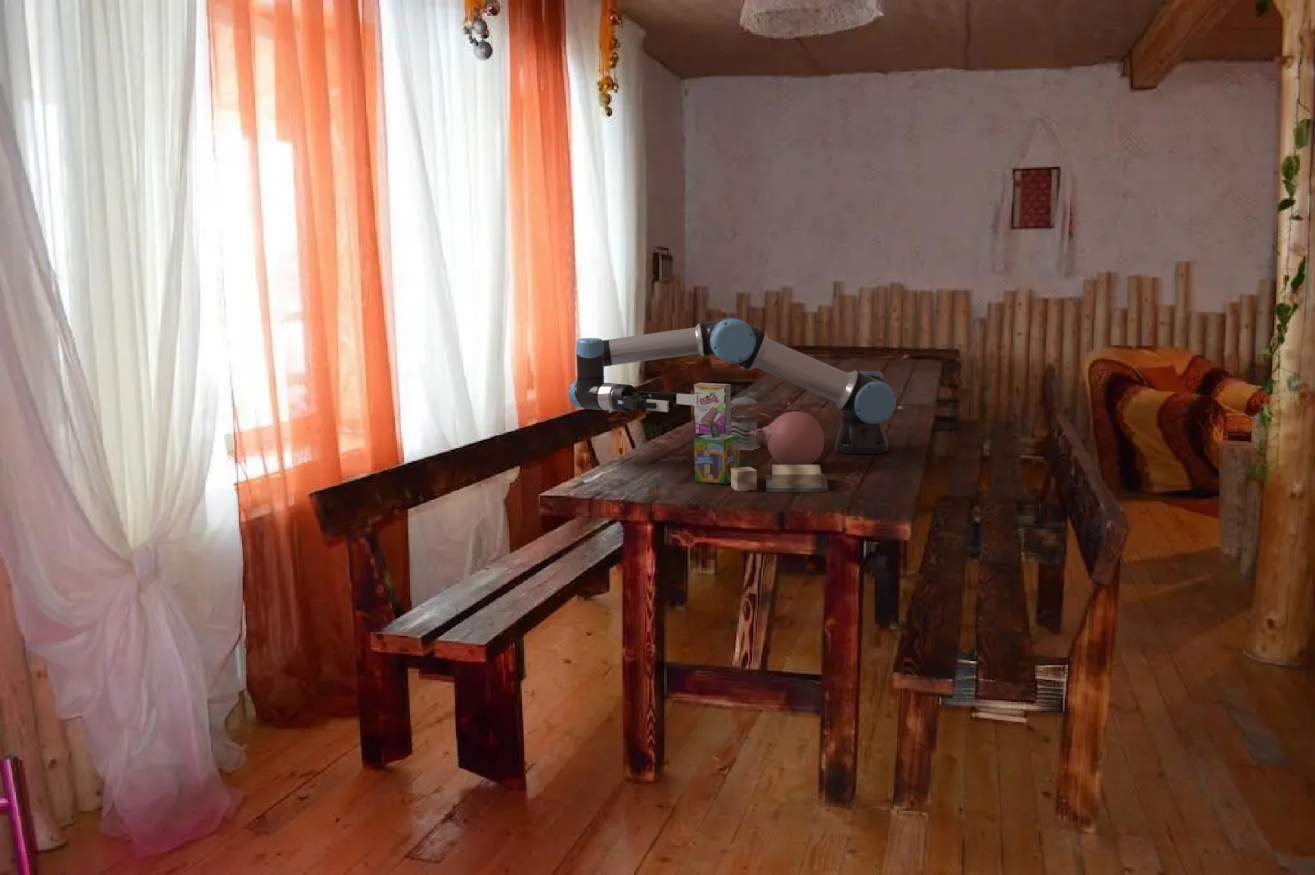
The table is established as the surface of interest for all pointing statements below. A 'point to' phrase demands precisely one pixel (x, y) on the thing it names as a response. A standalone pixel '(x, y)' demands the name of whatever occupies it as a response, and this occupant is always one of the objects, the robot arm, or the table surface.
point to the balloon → (793, 438)
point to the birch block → (744, 479)
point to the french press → (744, 424)
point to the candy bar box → (712, 408)
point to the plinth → (796, 479)
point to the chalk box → (715, 456)
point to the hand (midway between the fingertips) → (683, 403)
